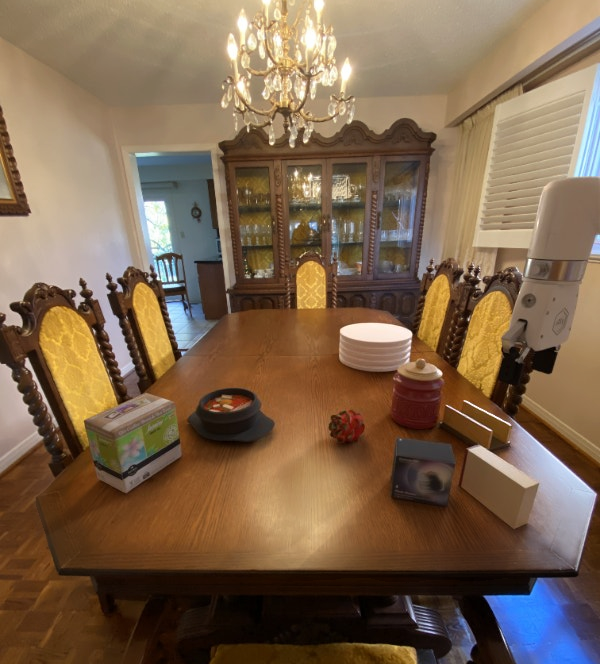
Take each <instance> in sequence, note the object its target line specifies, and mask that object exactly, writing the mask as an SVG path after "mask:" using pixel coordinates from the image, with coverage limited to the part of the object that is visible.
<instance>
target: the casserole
mask: <svg viewBox="0 0 600 664" xmlns="http://www.w3.org/2000/svg"><path fill="white" fill-rule="evenodd" d="M261 408H262V402H261V400H260V399H259V398H258V396H257V394H256V393H255V392H254V391H252V390H250V389H247V388H243V387H226V388H219V389H216V390H213V391H211V392H208V393H206V394H205V395H203V396H202V397H201V398H200V400H199V401H198V405H197V406H196V407H195V410H194V411H193V412H191V414H189V416H188V417H187V418H186V420H187V423H188V424H189V425H191V426H192V427H193V428H194V430H195V432H196V433H197V434H198V435H199V436H200V437H203V438H204V439H208V440H212V441H218V442H219V441H220V442H221V441H235V442H245V443H249V442H250V443H251V442H254V441H258V440H260V439H262V438H264V437H266V436H267V435H269V434H270V433H271V432H272V431H273V430H274V428H275V425H276V422H275V420H273V419H272V418H270V417H269V416H267V415H266V414H265V413H264V412H263V411H261Z"/></svg>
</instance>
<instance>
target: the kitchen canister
mask: <svg viewBox="0 0 600 664" xmlns="http://www.w3.org/2000/svg"><path fill="white" fill-rule="evenodd" d="M442 377H443V371H442V370H440V369H439V368H437V366H435V365H434V364H432V363H428V362H426V360H425V359H424V358H417V359H416V360H415V361H409V362H408V363H405V364H404V365H401V366H400V367H398V370H397V372H396V373H395V374H394V375H393V381H394V385H393V386H392V397H391V405H390V411H389V412H390V417H391V419H392V420H393V422H395V423H396V424H398V425H400V426H402V427H405V428H407V429H413V430H427V429H432V428H433V427H435V426H436V425H437V424H438V421H439V420H440V415H441V414H440V413H441V412H440V410H441V404H442V398H443V395H444V393H443V390H442V388H443V387H444V386H445V384H446V382H445V380H444V379H443V378H442Z"/></svg>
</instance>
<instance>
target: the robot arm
mask: <svg viewBox="0 0 600 664" xmlns="http://www.w3.org/2000/svg"><path fill="white" fill-rule="evenodd" d="M597 236H600V176H594V175H593V176H592V175H585V176H583V175H582V176H570V177H562V178H558V179H554V180H552V181H550V182H548V183H547V184H546V185H545V186H544V187H543V189H542V191H541V195H540V198H539V203H538V207H537V212H536V216H535V220H534V225H533V228H532V232H531V237H530V242H529V246H528V251H527V255H526V259H525V263H524V266H523V272H522V276H521V281H522V284H521V286H520V288H519V292H518V294H517V297H516V300H515V304H514V307H513V310H512V313H511V317H510V321H509V325H508V330H507V331H506V332H504V333H503V334H502V336H501V338H500V340H501V347H500V351H501V354H500V355H501V363H500V368H499V372H498V376H497V380H498V381H499V382H501V383H504V384H507V385H509V386H512V387H519V386H520V384H521V380H522V376H523V372H524V368H525V365H526V362H524V359H525V358H526V357H527V355H528V353H529V352H530V351H531V349H532V350H533V351H534V354H533V358H532V361H531V366H530V369H531V370H533V371H536V372H538V373H542V374H545V375H551V374H553V371H554V367H555V364H556V361H557V357H558V355H559V351H560V350H561V348H562V345H563V344H564V343H566V342H567V341H568V340H569V339H570V335H571V330H572V326H573V322H574V318H575V314H576V309H577V305H578V300H579V292H580V285H582V283H583V281H584V277H585V274H586V270H587V266H588V263H589V259H590V256H591V253H592V250H593V246H594V243H595V240H596V237H597ZM517 348H519V349H520V351H518V349H517Z"/></svg>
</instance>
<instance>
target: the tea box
mask: <svg viewBox="0 0 600 664" xmlns="http://www.w3.org/2000/svg"><path fill="white" fill-rule="evenodd" d="M83 423H84V429H85V433H86V437H87V442H88V445H89V450H90V454H91V458H92V462H93V465H94V470H95V474H96V477H97V479H98V480H100V481H101V482H103V483H105V484H107V485H109V486H110V487H113V488H115V489H116V490H118V491H120V492H122V493H125V494H128V493H129V492H130V491H132V490H133V489H134V488H136V487H138V486H139V485H140V484H142V483H143V482H145V481H146V480H148V479H150V478H151V477H152V476H154V475H156V474H157V473H159V472H161V470H163V469H165V468H166V467H167V466H169V465H170V464H172V463H174V462H176V461H177V460H178V459H180V458H181V457H182V456H183V454H182V453H183V452H182V445H181V438H180V431H179V425H178V417H177V411H176V405H175V401H174V400H173V401H172V400H170V399H167V398H163V397H160V396H157V395H154V394H150V393H148V392H144V393H142V394H140V395H138V396H136V397H133V398H130V399H129V400H126V401H125V402H122V403H120V404H118V405H115V406H113V407H111V408H108V409H105V410H103V411H101V412H99V413H97V414H94V415H92V416H90V417H88V418H85V419H83Z"/></svg>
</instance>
